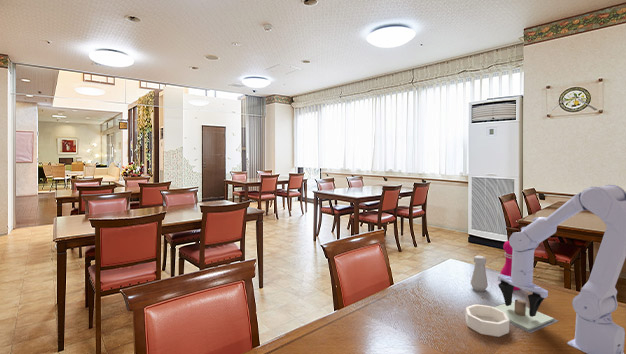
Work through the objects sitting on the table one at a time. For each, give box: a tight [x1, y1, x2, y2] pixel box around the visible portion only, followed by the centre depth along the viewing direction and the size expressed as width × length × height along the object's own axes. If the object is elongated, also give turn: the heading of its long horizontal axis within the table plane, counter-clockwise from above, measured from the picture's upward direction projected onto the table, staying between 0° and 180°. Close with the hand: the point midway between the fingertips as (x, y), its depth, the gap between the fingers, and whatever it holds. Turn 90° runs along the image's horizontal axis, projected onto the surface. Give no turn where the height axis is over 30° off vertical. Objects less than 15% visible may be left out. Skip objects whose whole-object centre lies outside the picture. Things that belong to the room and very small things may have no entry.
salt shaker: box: [470, 255, 489, 292], centre depth 123 cm, size 6×6×13 cm
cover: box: [493, 298, 555, 330], centre depth 104 cm, size 13×13×5 cm
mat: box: [493, 302, 559, 334], centre depth 104 cm, size 15×15×1 cm
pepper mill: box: [499, 240, 521, 291], centre depth 125 cm, size 7×7×20 cm
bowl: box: [464, 304, 510, 337], centre depth 98 cm, size 11×11×4 cm
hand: (520, 310), depth 104 cm, fingers open, 7 cm apart
